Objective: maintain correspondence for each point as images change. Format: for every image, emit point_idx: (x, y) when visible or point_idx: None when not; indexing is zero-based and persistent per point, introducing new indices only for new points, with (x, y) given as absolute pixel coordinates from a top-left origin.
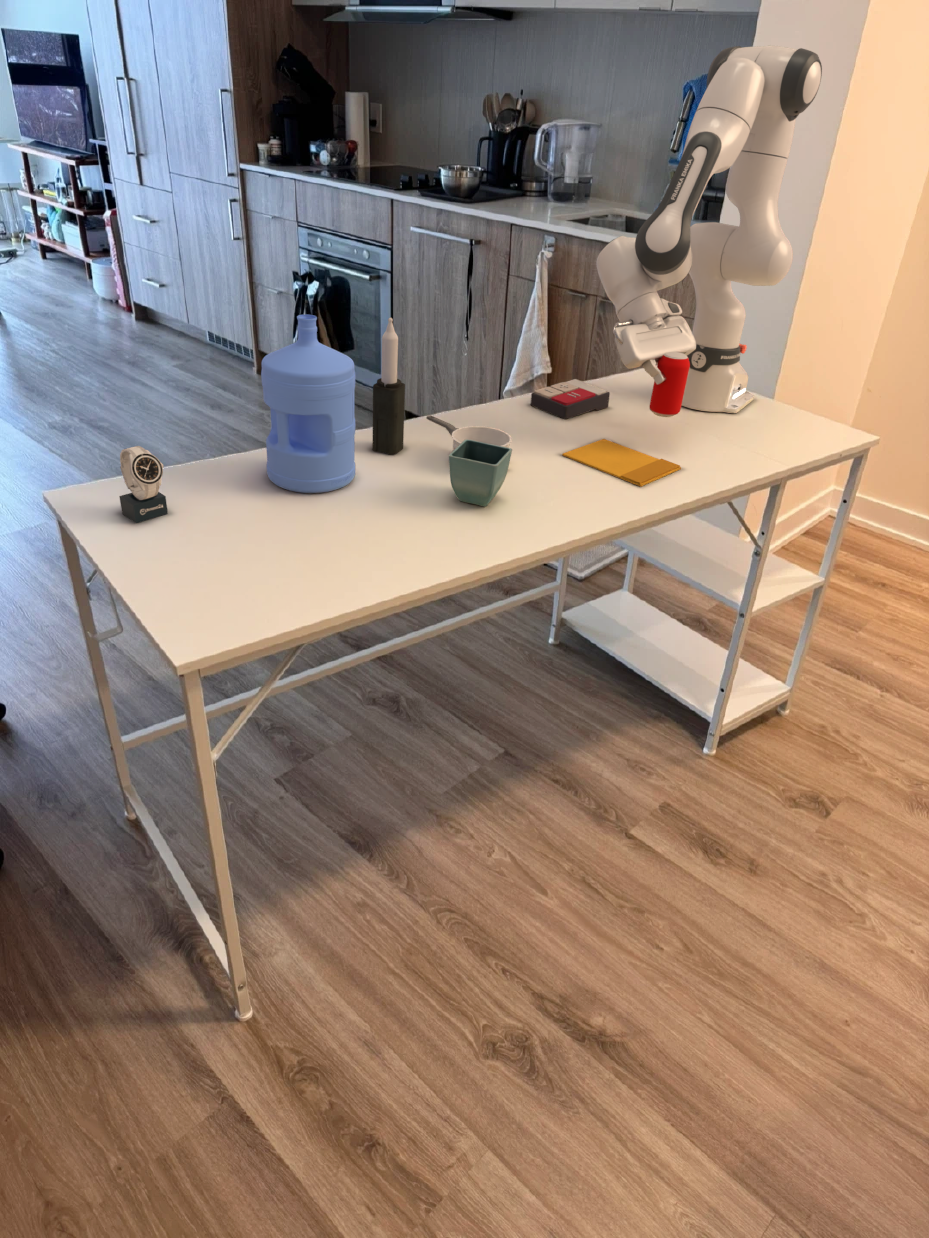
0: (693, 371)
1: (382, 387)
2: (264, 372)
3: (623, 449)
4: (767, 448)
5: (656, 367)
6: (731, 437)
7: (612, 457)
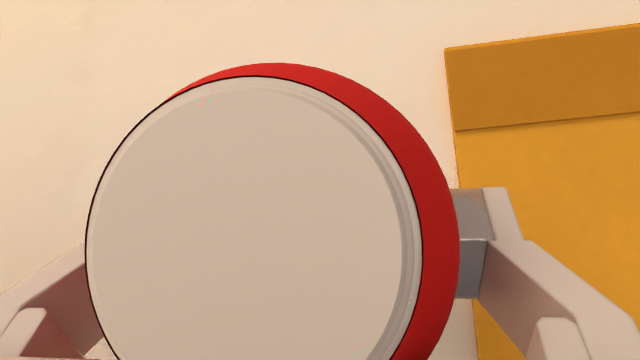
0: None
1: None
2: None
3: None
4: (21, 26)
5: (556, 286)
6: (30, 152)
7: (618, 251)
